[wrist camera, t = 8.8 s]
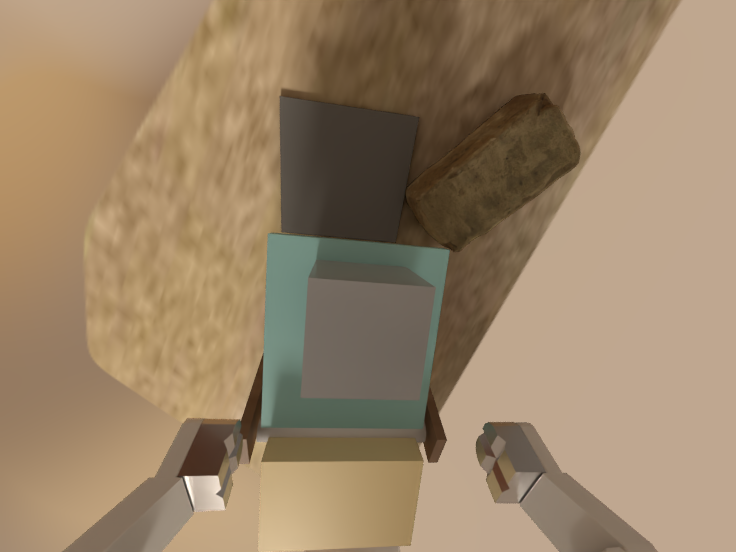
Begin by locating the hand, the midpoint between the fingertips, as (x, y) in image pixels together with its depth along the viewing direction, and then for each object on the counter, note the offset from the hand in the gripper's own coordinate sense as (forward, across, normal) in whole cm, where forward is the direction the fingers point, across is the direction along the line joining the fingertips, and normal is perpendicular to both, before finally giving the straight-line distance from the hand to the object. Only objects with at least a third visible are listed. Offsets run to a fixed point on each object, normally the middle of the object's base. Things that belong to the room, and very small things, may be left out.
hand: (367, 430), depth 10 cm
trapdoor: (+9, 0, +6) cm, 11 cm away
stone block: (+19, -9, -6) cm, 22 cm away
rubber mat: (+19, +1, -5) cm, 19 cm away
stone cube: (+8, 0, 0) cm, 8 cm away
